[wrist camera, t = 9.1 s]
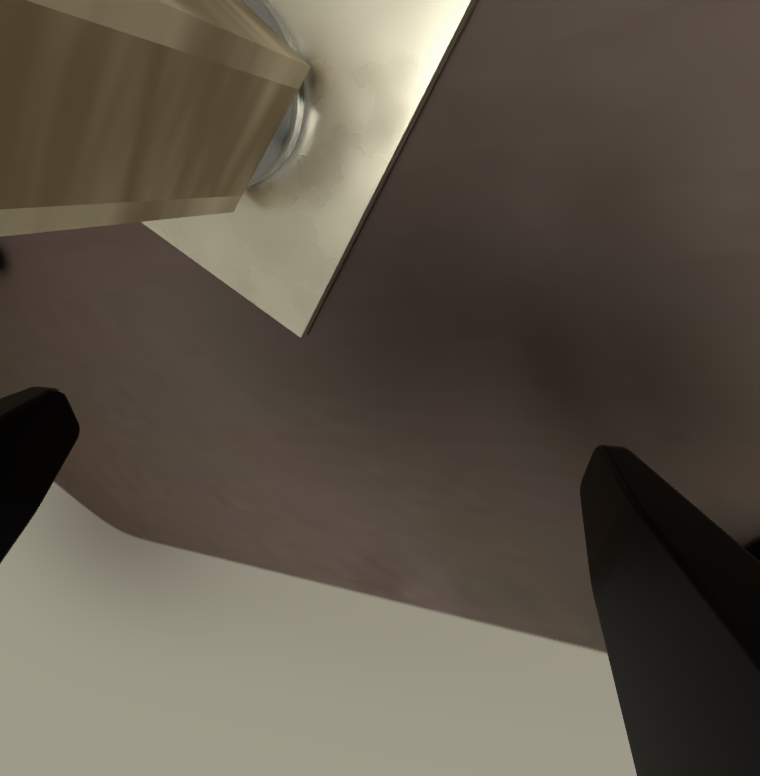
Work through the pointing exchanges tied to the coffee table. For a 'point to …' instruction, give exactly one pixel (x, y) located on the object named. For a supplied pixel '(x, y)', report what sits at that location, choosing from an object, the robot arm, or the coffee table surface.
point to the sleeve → (134, 109)
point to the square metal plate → (324, 148)
